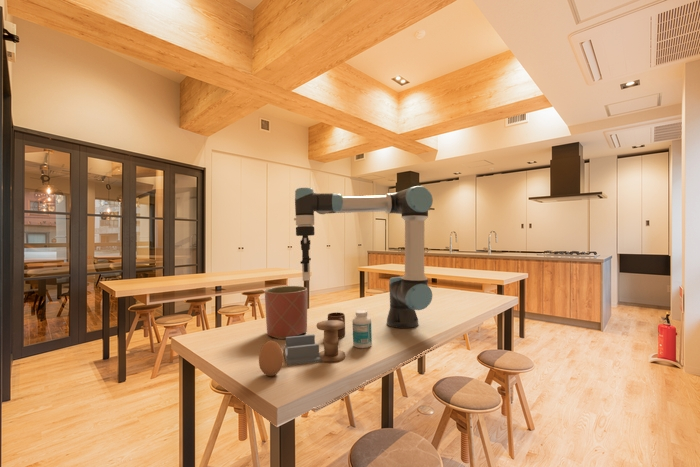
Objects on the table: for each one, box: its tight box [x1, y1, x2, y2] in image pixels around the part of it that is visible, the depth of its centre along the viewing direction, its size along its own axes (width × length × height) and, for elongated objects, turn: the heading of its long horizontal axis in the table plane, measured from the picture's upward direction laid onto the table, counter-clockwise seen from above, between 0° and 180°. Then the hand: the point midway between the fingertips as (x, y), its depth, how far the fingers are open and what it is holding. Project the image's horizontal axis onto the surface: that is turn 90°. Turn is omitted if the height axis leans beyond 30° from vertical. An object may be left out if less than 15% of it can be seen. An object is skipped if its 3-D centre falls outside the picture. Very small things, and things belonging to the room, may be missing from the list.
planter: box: [264, 285, 308, 340], centre depth 144 cm, size 19×19×20 cm
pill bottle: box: [351, 309, 373, 349], centre depth 126 cm, size 8×7×14 cm
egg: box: [258, 340, 284, 377], centre depth 101 cm, size 8×8×11 cm
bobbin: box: [316, 319, 346, 364], centre depth 114 cm, size 10×10×12 cm
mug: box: [327, 312, 346, 339], centre depth 137 cm, size 12×8×9 cm, turn 23°
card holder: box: [284, 333, 323, 367], centre depth 118 cm, size 12×18×5 cm, turn 14°
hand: (306, 278), depth 130 cm, fingers open, 13 cm apart
